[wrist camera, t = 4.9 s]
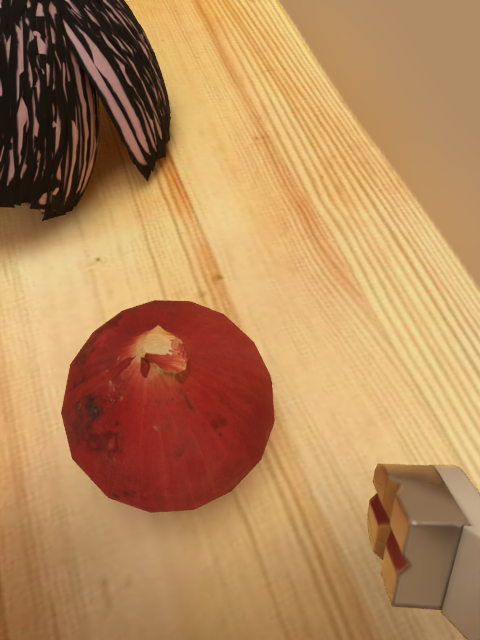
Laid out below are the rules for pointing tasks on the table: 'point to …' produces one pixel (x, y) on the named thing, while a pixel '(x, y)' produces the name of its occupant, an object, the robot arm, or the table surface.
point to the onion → (168, 406)
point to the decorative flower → (73, 97)
